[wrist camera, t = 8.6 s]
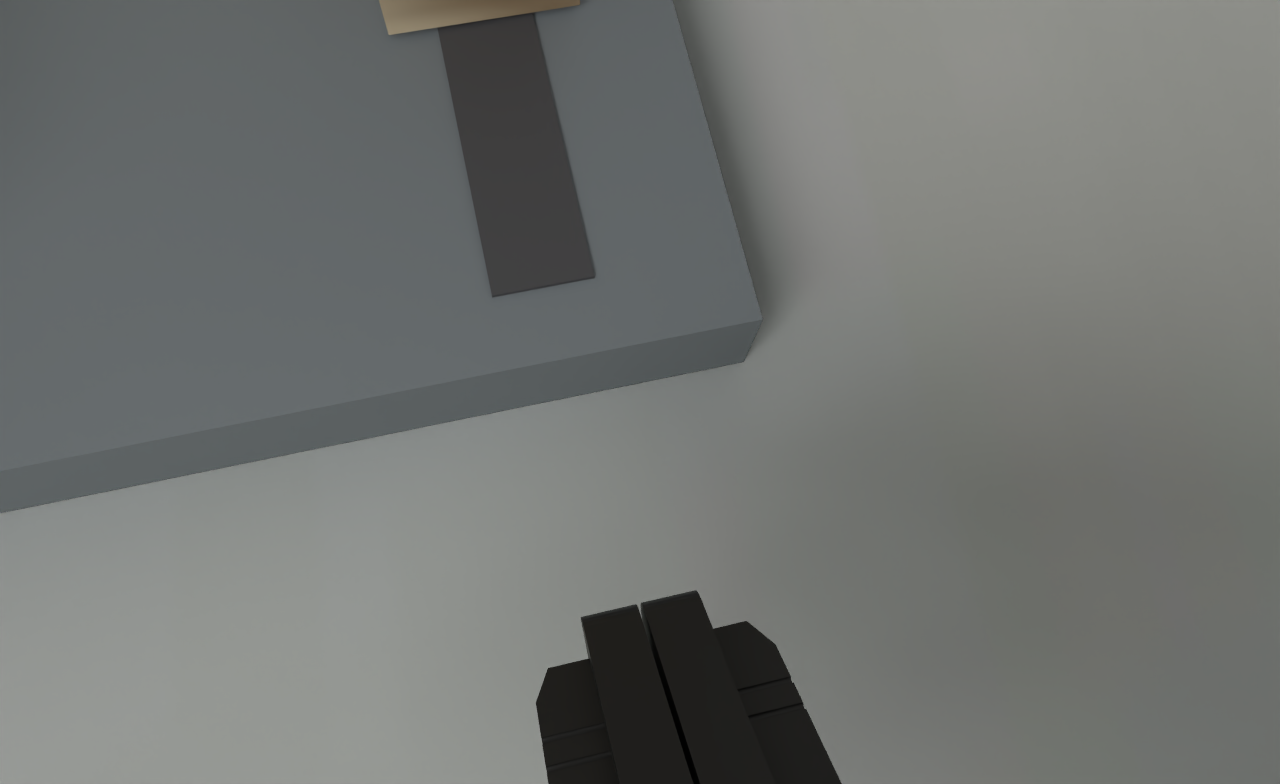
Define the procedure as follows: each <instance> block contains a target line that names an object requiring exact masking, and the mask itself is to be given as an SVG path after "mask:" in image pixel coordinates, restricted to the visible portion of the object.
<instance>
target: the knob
mask: <svg viewBox="0 0 1280 784" xmlns="http://www.w3.org/2000/svg"><path fill="white" fill-rule="evenodd" d="M379 3H380V6H381V10H382V13H383V17H384V20H385V24H386V27H387V31H388V34H389V35H393V34H399V33H406V32H412V31H418V30H425V29H431V28H437V27H444V26H450V25H456V24H463V23H469V22H475V21H482V20H488V19H494V18H501V17H507V16H513V15H520V14H526V13H532V12H539V11H545V10H551V9H558V8H564V7H570V6H577V5H580V0H379Z"/></svg>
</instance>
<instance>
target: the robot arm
mask: <svg viewBox="0 0 1280 784" xmlns="http://www.w3.org/2000/svg"><path fill="white" fill-rule="evenodd" d="M641 615H642V618H641ZM641 615H640V612H639V609H638V606H637V605H636V604H635V605H631V606H627V607H623V608H618V609H614V610H610V611H605V612H601V613H597V614H592V615H588V616H584V617H581V622H582V627H583V632H584V637H585V642H586V648H587V653H588V658H589V659H585V660H581V661H577V662H573V663H568V664H564V665H560V666H556V667H552V668H548V670H547V673H546V676H545V678H544V681H543V684H542V687H541V690H540V693H539V696H538V698H537V701H536V706H537V712H538V719H539V725H540V732H541V738H542V743H543V751H544V757H545V764H546V769H547V777H548V783H549V784H841V782H840V780H839V778H838V775H837V773H836V771H835V769H834V767H833V765H832V763H831V761H830V759H829V756H828V754H827V752H826V750H825V748H824V746H823V744H822V742H821V740H820V737H819V735H818V733H817V731H816V729H815V727H814V725H813V723H812V721H811V718H810V716H809V714H808V712H807V710H806V709H804V706H803V702H802V699H801V697H800V695H799V693H798V691H797V689H796V687H795V685H794V683H792V681H791V676H790V674H789V672H788V670H787V668H786V666H785V664H784V661H783V659H782V657H781V655H780V653H779V651H778V649H777V647H776V645H775V644H774V643H773V642H772V641H770V640H769V639H768V638H767V637H765V636H764V635H763V634H762V633H761V632H759V631H758V630H757V629H756V628H754V627H753V626H752V625H751V624H750V623H748V622H747V621H745V622H740V623H736V624H732V625H728V626H723V627H719V628H715V629H713V628H712V625H711V623H710V620H709V618H708V615H707V613H706V610H705V608H704V605H703V603H702V600H701V598H700V596H699V594H698V592H697V591H696V590H695V591H690V592H686V593H682V594H677V595H673V596H669V597H665V598H660V599H656V600H652V601H647V602H643V603H641Z"/></svg>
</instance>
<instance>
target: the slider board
mask: <svg viewBox="0 0 1280 784" xmlns="http://www.w3.org/2000/svg"><path fill="white" fill-rule="evenodd" d="M762 320H763V318H762V314H761V311H760V307H759V304H758V300H757V297H756V293H755V290H754V286H753V283H752V279H751V276H750V272H749V268H748V265H747V261H746V258H745V254H744V251H743V247H742V244H741V240H740V237H739V233H738V230H737V226H736V222H735V219H734V215H733V212H732V208H731V205H730V201H729V198H728V194H727V191H726V187H725V184H724V180H723V177H722V173H721V169H720V166H719V162H718V159H717V155H716V152H715V148H714V145H713V141H712V138H711V134H710V131H709V127H708V123H707V120H706V116H705V113H704V109H703V106H702V102H701V99H700V95H699V92H698V88H697V85H696V81H695V77H694V74H693V70H692V67H691V63H690V60H689V56H688V53H687V49H686V46H685V42H684V39H683V35H682V32H681V28H680V24H679V21H678V17H677V14H676V10H675V7H674V3H673V0H580V5H577V6H570V7H564V8H558V9H551V10H545V11H539V12H532V13H526V14H520V15H513V16H507V17H501V18H494V19H488V20H482V21H475V22H469V23H463V24H456V25H450V26H444V27H437V28H431V29H425V30H418V31H412V32H406V33H399V34H393V35H389V34H388V31H387V27H386V24H385V20H384V17H383V13H382V10H381V6H380V3H379V0H0V513H3V512H8V511H13V510H18V509H22V508H27V507H32V506H37V505H42V504H47V503H52V502H57V501H62V500H67V499H72V498H76V497H81V496H86V495H91V494H96V493H101V492H106V491H111V490H116V489H121V488H126V487H131V486H135V485H140V484H145V483H150V482H155V481H160V480H165V479H170V478H175V477H180V476H185V475H190V474H194V473H199V472H204V471H209V470H214V469H219V468H224V467H229V466H234V465H239V464H244V463H248V462H253V461H258V460H263V459H268V458H273V457H278V456H283V455H288V454H293V453H298V452H303V451H307V450H312V449H317V448H322V447H327V446H332V445H337V444H342V443H347V442H352V441H357V440H361V439H366V438H371V437H376V436H381V435H386V434H391V433H396V432H401V431H406V430H411V429H416V428H420V427H425V426H430V425H435V424H440V423H445V422H450V421H455V420H460V419H465V418H470V417H475V416H479V415H484V414H489V413H494V412H499V411H504V410H509V409H514V408H519V407H524V406H529V405H533V404H538V403H543V402H548V401H553V400H558V399H563V398H568V397H573V396H578V395H583V394H588V393H592V392H597V391H602V390H607V389H612V388H617V387H622V386H627V385H632V384H637V383H642V382H646V381H651V380H656V379H661V378H666V377H671V376H676V375H681V374H686V373H691V372H696V371H701V370H705V369H710V368H715V367H720V366H725V365H730V364H735V363H740V362H744V360H745V357H746V355H747V353H748V351H749V349H750V346H751V344H752V342H753V340H754V338H755V336H756V333H757V331H758V329H759V327H760V325H761V322H762Z"/></svg>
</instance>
